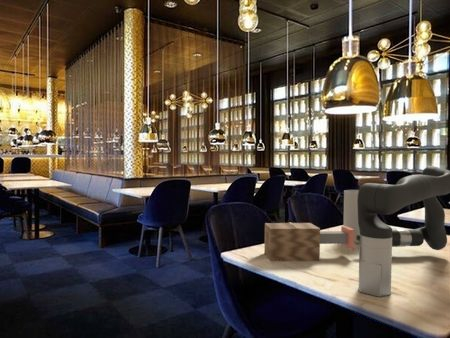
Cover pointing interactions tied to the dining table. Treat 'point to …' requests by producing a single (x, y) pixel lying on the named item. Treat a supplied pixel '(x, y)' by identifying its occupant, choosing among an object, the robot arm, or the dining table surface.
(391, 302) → the dining table surface
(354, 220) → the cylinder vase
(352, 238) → the salmon square plate
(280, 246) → the block
